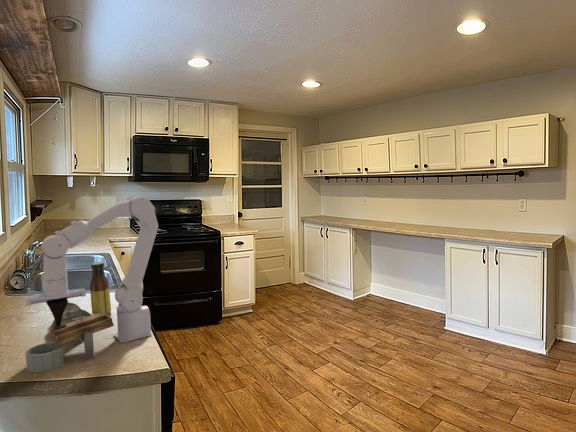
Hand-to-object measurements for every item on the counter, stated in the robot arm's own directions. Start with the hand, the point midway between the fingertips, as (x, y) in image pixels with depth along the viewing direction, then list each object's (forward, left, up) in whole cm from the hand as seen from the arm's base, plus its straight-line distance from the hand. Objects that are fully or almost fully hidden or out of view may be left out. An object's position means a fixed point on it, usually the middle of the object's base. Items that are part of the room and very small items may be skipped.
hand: (58, 325), depth 113 cm
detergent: (-7, -19, -8) cm, 22 cm away
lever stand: (-5, +4, -8) cm, 10 cm away
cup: (+4, +7, -8) cm, 11 cm away
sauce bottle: (-17, -23, -8) cm, 30 cm away
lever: (-5, +4, -1) cm, 6 cm away
